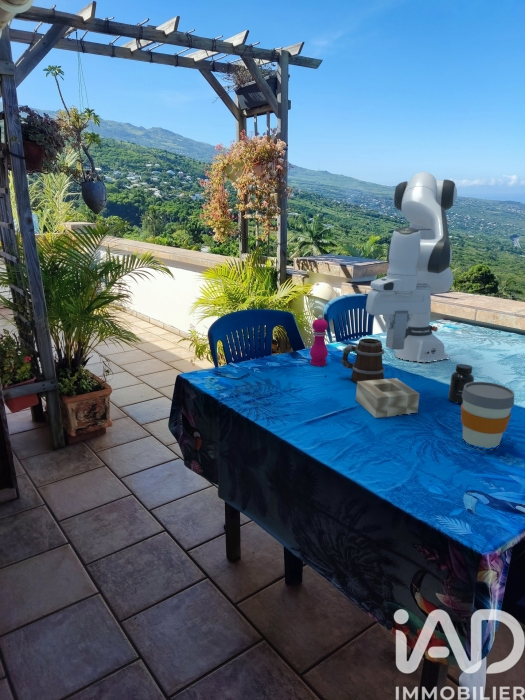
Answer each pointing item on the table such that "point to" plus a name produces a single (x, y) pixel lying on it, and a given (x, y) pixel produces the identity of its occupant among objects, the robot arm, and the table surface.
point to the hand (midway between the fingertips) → (396, 328)
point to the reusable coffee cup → (485, 413)
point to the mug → (365, 360)
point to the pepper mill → (319, 342)
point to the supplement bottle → (460, 382)
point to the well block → (387, 397)
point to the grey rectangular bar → (397, 330)
